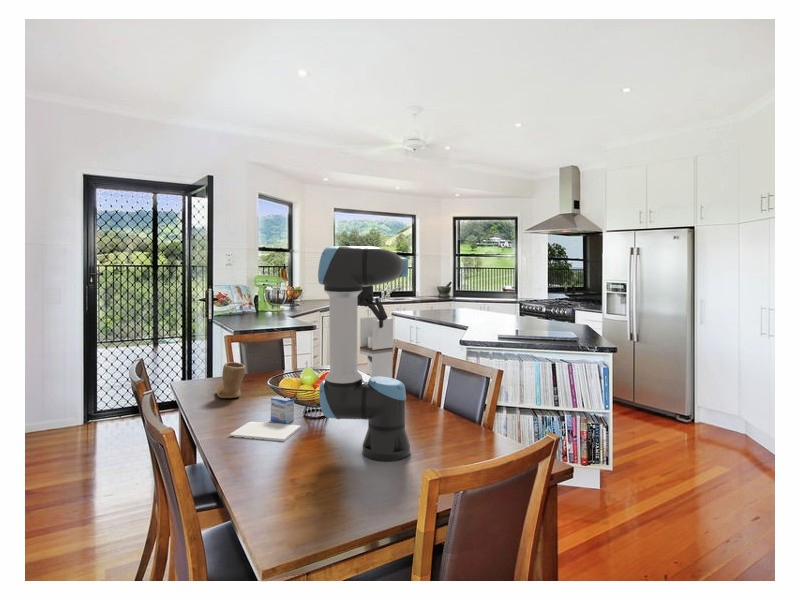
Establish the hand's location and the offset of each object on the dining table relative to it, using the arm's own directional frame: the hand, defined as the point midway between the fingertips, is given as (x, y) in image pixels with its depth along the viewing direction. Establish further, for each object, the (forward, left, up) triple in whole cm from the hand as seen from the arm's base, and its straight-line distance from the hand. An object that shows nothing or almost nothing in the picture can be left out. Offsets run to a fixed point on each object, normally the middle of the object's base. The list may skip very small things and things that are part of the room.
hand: (364, 332), depth 200 cm
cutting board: (-42, +24, -31) cm, 57 cm away
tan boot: (-2, +61, -31) cm, 69 cm away
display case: (+22, 0, -31) cm, 38 cm away
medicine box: (-29, +24, -31) cm, 49 cm away
